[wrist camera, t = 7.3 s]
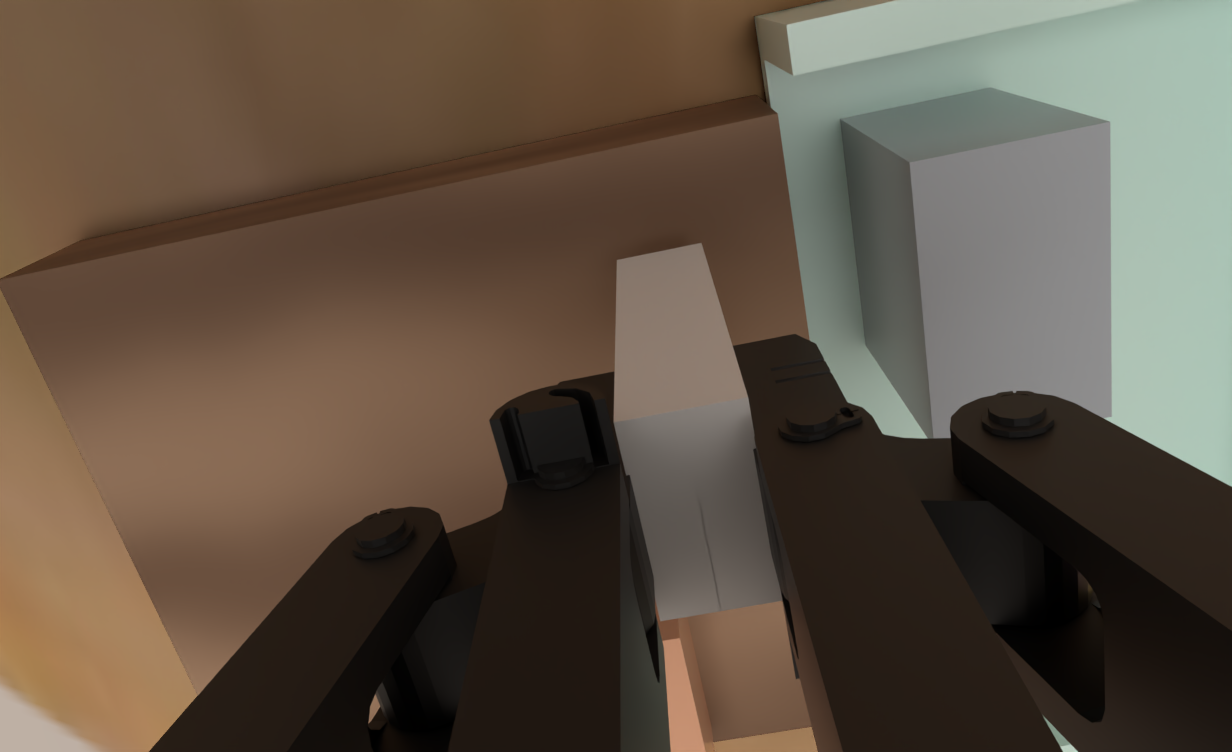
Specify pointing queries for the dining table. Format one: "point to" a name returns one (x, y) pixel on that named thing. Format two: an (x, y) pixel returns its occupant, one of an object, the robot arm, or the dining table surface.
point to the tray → (1140, 177)
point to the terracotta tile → (684, 689)
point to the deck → (394, 359)
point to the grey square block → (983, 250)
